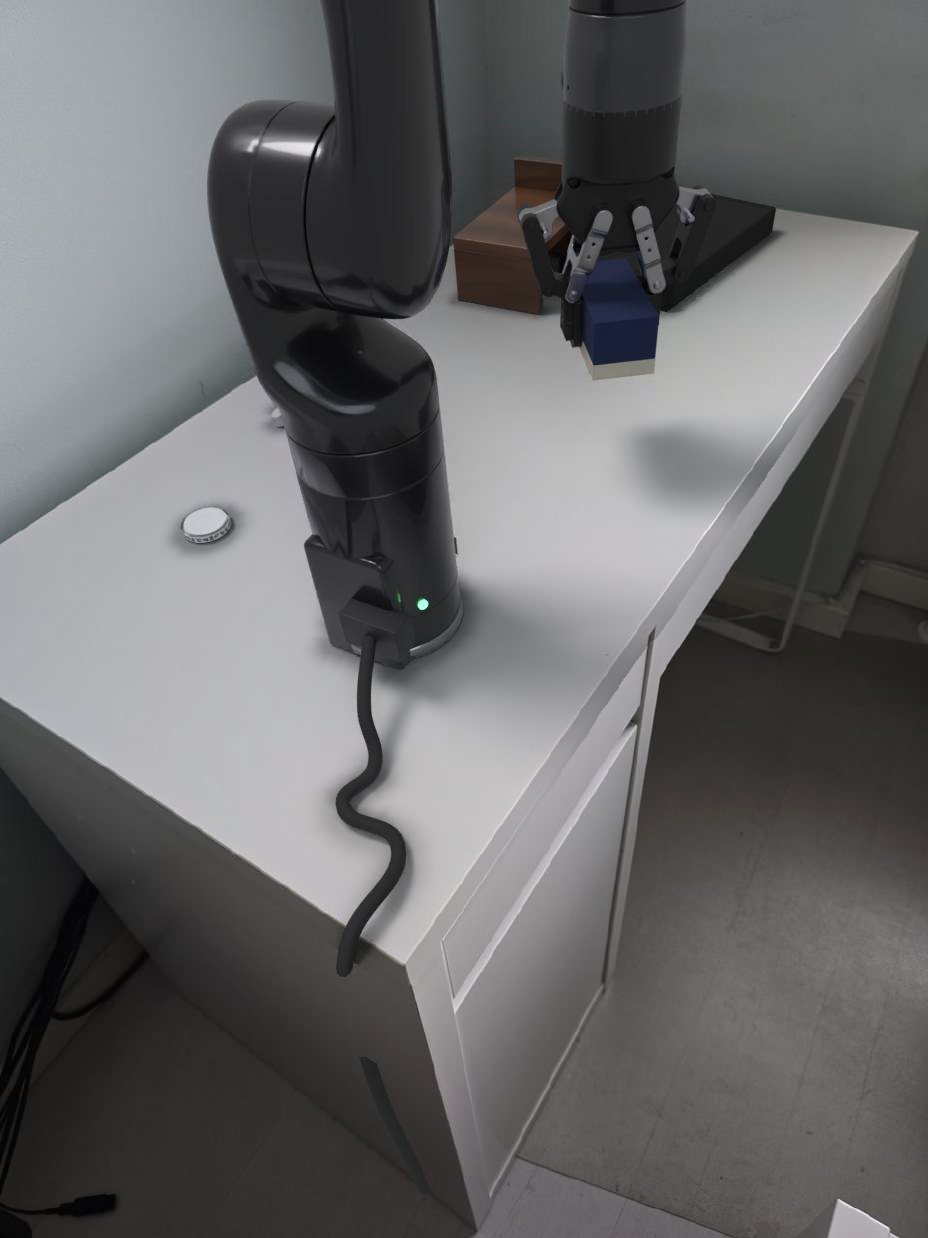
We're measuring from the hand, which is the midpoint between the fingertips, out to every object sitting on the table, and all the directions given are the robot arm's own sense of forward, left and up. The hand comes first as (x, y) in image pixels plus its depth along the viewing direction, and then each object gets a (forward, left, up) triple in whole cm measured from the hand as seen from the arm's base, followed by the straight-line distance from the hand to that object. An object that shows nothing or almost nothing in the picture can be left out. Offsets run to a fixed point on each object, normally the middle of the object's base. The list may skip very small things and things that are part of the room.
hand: (609, 337), depth 67 cm
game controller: (-2, +28, -11) cm, 30 cm away
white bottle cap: (-22, +26, -11) cm, 36 cm away
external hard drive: (+39, +8, -11) cm, 42 cm away
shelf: (+29, +21, -11) cm, 38 cm away
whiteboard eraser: (0, 0, -1) cm, 1 cm away
